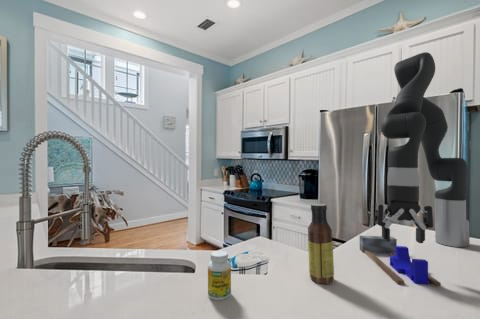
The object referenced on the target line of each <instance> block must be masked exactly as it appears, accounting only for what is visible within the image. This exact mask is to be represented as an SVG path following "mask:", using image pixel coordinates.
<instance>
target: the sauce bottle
mask: <svg viewBox="0 0 480 319" xmlns="http://www.w3.org/2000/svg"><path fill="white" fill-rule="evenodd" d="M327 206H328V205H327V204H326V203H319V202H318V203H311V204H310V210H311V222H310V224H309V226H308V227H307V235H308V236H307V238H308V239H307V244H308V246H307V247H308V270H309V271H308V272H309V278H310V279H311V281H312V282H314V283H318V284H320V285H329V284H333V282H334V279H335V277H334V275H335V270H334V269H335V268H334V267H335V265H334V248H333V244H334V243H333V242H334V241H333V235H332V234H333V230H332V228H331V227H330V225H329V222H328V218H327V210H328V207H327Z"/></svg>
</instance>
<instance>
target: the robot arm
mask: <svg viewBox="0 0 480 319" xmlns="http://www.w3.org/2000/svg"><path fill="white" fill-rule="evenodd" d="M393 67H394V70H393V71H394V75H395V78H396V81H397V83H398V85H399V87H400V91H398V93H397V95H396V98H395V101H394V105H393V107H391V109H390V110H389V111H388V112H387V114H386V115H385V116H384V118H383V119H382V122H381V124H380V125H381V126H380V130H381V134H382V136H384V138H386V139H390V140H397V139H398V140H400V139H408V141H407V142H406V143H405V144H403V145H400V146H395V147H391V148H389V150H388V154H387V155H388V168H387V169H388V171H387V181H386V182H387V184H386V185H387V186H386V187H387V191H386V192H387V196H386V197H387V203H386V204H382V203H377V202H376V203H375V205H374V206H375V208H374V224H376V225H378V226H379V227H381V236H382V238H383V239H384V240H385V241H386V242H390V237H391V228H390V227H391V226H392V225H393V224H394V223H395V222H396V221H408V222H412V223H413V224H414V226H416V228H415V241H416V243H418V244H423V243H424V242H425V241H426V230H427V229H429V228H430V229H431V228H433V227H434V230H435V231H434V232H435V236H434V237H435V242H436V243H438V244H440V245H443V246H444V245H445V246H448V247H453V248H454V247H456V248H465V247H470V221H469V220H468V219H467V191H468V189H467V187H468V186H467V185H468V163H467V161H466V160H465V159H464V158H463V157H441V155H440V151H439V150H440V146H441V144H442V142H443V140H444V138H445V137H446V134H447V132H448V129H449V128H448V127H449V126H448V123H447V119H446V116H445V113H444V111H443V109H442V108H441V107H439V106H438V105H437V104H436V103H434V102H432V101H431V100H429V99H427V98H426V97H425V93H426V92H427V90H428V88H429V86H430V84H431V82H432V80H433V78H434V76H435V74H436V62H435V60H434V57H433V56H432V54H431V53H429V52H427V51H425V52H421V53H418V54H415V55H413V56H410V57H408V58H405V59H402V60H399V61H398V62H396V63H395V65H394V66H393ZM421 145H422V148H423V151H424V155H425V156H424V157H425V159H426V163H427V164H426V165H427V168H428V172H429V174H430V176H431V179H432V180H434V181H438V182H451V185H450V186H448V187H446V188H443V189H438V190H435V192H434V215H435V216H433V207H432V206H431V205H428V204H422V205H420V203H419V202H420V183H421V182H420V172H419V151H420V146H421ZM386 210H387V212H388V213H387V214H386V215H385V217H384V212H385V211H386ZM419 212H421V213H422V219H421V218H420V217H419V215H418V214H419ZM433 218H434V219H433ZM434 223H435V225H434Z"/></svg>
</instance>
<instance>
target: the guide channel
mask: <svg viewBox="0 0 480 319" xmlns="http://www.w3.org/2000/svg"><path fill="white" fill-rule="evenodd" d="M397 242H398V241H397V238H395V237H394V236H390V242H386V241H385V240H384V239H383V238H382V235H381V236H379V235H377V236H376V235H359V250H360V251H361V252H362V253H364V254H365V255H366V256H367V257H368V258H370V260H371V261H372V262H374V263H375V264H376V266H378V267H379V269H380V270H382V271H383V272H384V273H385V274H387V276H388V277H389V278H391V279H392V281H394V282H395V283H396V284H397V285H402V286H403V285H405V280H404V279H403V278H401V276H400V275H398V274H397V272H395V271H394V270H392V269H391V268H390V267H389V266H388V265H387V264H386V263H385V262H384V261H382V260H381V259H380V258H379V257H377V256H376V255H375V254H388V255H390V256H395V246H398V245H397ZM411 263H412V261H411ZM428 284H430V285H431V286H433V287H436V288H441V287H442V284H441V282H440V281H439V280H437V279H436V278H435V277H433V276H432V275H430V274H429V273H428Z"/></svg>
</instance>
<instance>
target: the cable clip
mask: <svg viewBox="0 0 480 319" xmlns="http://www.w3.org/2000/svg"><path fill="white" fill-rule="evenodd" d="M411 262H412V263H411ZM389 265H390V266H391V268H393V270H395V271H396V273H398V274H403V275H405V276H406V277H407V278H408V279H409V280H411V281H412V282H413V284H416V285H426V286H429V282H428V274H429V261H428V260H427V259H424V258H423V259H421V258H410V250H409V247H408V246H405V245H404V246H402V245H400V246H399V245H397V246H395V256H393V255H389Z"/></svg>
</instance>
